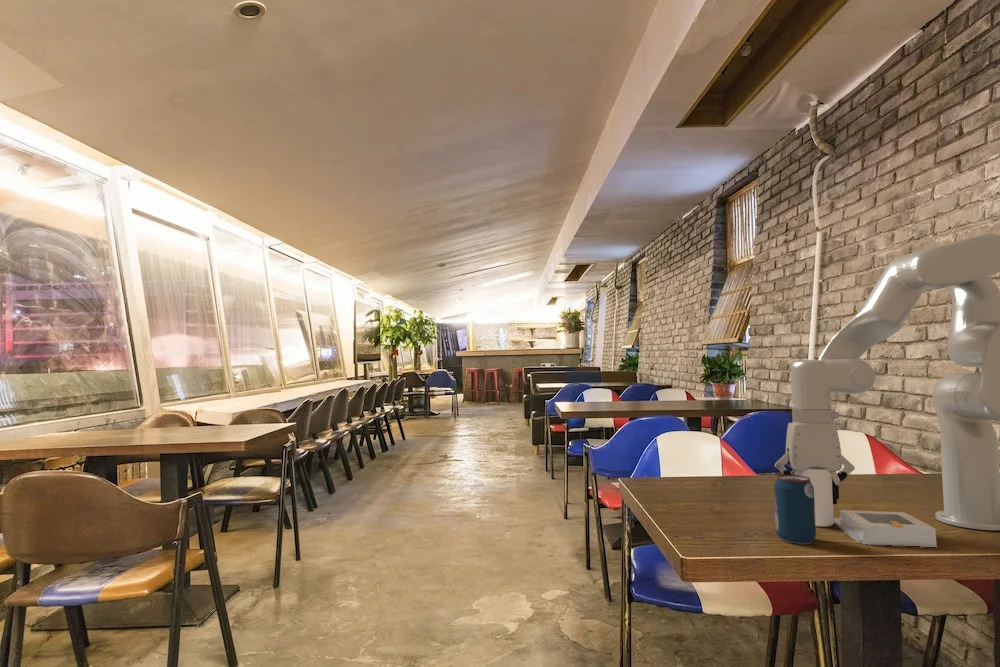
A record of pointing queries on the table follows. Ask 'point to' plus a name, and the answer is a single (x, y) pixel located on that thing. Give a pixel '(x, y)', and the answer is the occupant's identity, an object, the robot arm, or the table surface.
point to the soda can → (794, 509)
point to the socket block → (886, 528)
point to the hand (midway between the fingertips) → (815, 501)
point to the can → (822, 496)
